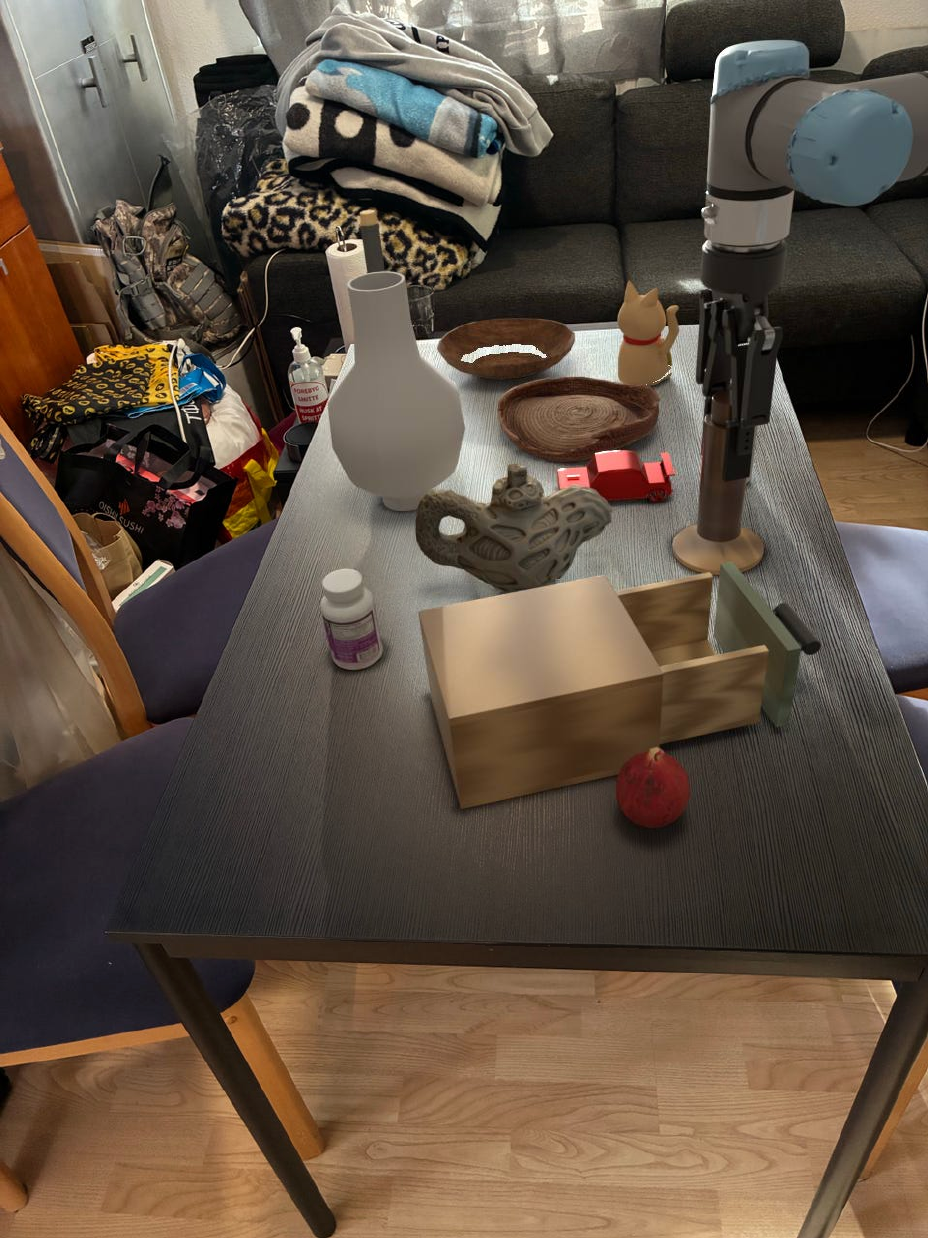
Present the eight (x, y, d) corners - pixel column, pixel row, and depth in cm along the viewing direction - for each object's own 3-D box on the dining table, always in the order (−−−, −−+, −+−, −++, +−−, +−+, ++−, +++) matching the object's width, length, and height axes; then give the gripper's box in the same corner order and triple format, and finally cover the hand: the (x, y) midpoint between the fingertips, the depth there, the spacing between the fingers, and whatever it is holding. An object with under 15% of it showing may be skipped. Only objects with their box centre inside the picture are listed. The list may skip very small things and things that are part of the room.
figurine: (691, 377, 143) (697, 278, 134) (648, 399, 139) (652, 297, 130) (648, 363, 149) (651, 267, 140) (605, 384, 144) (606, 285, 135)
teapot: (598, 540, 110) (597, 423, 101) (626, 597, 101) (629, 473, 92) (418, 570, 109) (401, 453, 100) (430, 630, 100) (413, 507, 90)
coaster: (779, 565, 103) (780, 560, 103) (693, 582, 102) (693, 577, 102) (739, 519, 111) (740, 515, 111) (659, 535, 110) (659, 530, 110)
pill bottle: (336, 640, 100) (319, 565, 94) (385, 637, 99) (372, 562, 93) (328, 673, 95) (310, 597, 90) (380, 671, 95) (365, 594, 89)
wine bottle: (429, 412, 142) (404, 201, 124) (419, 436, 136) (390, 218, 117) (377, 412, 143) (345, 204, 125) (365, 437, 137) (329, 222, 119)
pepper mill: (748, 537, 103) (763, 402, 94) (706, 545, 103) (717, 410, 93) (729, 515, 107) (742, 384, 97) (689, 523, 107) (698, 391, 97)
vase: (473, 463, 128) (453, 252, 111) (469, 528, 115) (446, 300, 98) (352, 471, 129) (314, 263, 112) (335, 536, 116) (289, 312, 99)
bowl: (455, 345, 162) (452, 317, 159) (583, 345, 157) (582, 316, 154) (427, 394, 147) (423, 364, 144) (567, 396, 142) (566, 365, 139)
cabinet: (605, 661, 93) (605, 574, 87) (658, 765, 82) (663, 673, 75) (431, 697, 91) (418, 610, 85) (461, 809, 80) (448, 718, 73)
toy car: (667, 480, 120) (669, 445, 117) (674, 503, 115) (676, 467, 112) (557, 488, 121) (556, 453, 118) (559, 510, 116) (558, 475, 113)
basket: (480, 459, 129) (477, 426, 126) (519, 396, 143) (518, 365, 140) (645, 471, 122) (646, 437, 119) (669, 404, 137) (670, 372, 134)
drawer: (765, 625, 94) (775, 552, 88) (834, 715, 83) (850, 637, 78) (564, 667, 92) (562, 594, 86) (609, 764, 81) (609, 688, 76)
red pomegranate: (676, 857, 74) (681, 788, 69) (606, 836, 76) (606, 768, 71) (694, 803, 78) (701, 735, 73) (627, 785, 80) (629, 717, 75)
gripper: (669, 220, 93) (660, 435, 107) (749, 274, 78) (726, 513, 93) (741, 209, 93) (722, 424, 108) (833, 261, 79) (797, 500, 93)
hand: (724, 465), depth 100 cm, fingers closed on pepper mill, 5 cm apart
